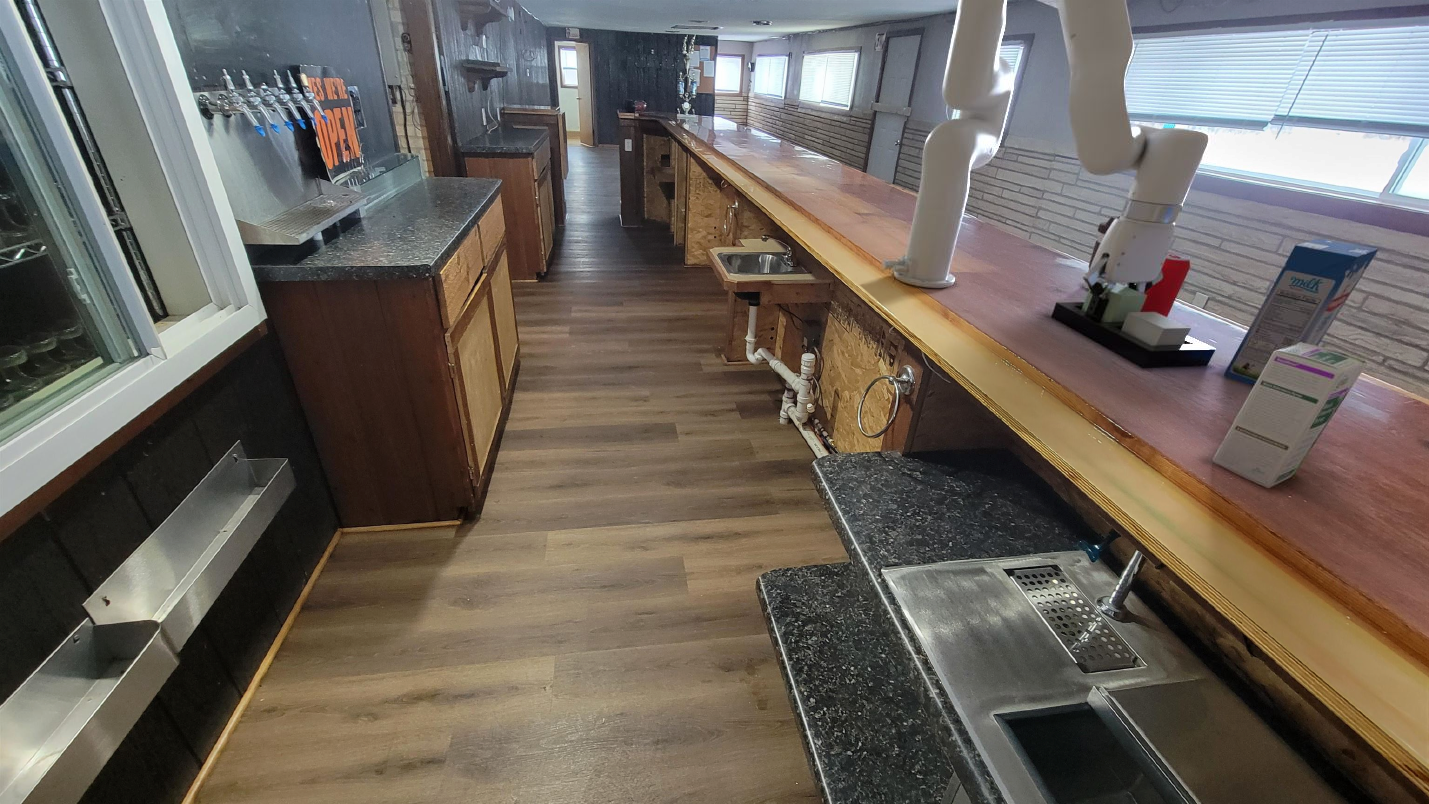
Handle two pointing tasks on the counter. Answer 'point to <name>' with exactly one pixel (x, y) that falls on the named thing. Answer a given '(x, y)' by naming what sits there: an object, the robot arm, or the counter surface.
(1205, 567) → the counter surface
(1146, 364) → the frame
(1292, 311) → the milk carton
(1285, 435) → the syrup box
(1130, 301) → the pale green block
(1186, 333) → the light grey block
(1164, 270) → the beverage can
